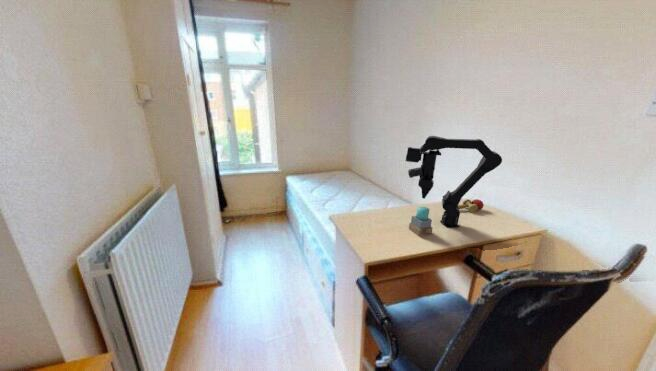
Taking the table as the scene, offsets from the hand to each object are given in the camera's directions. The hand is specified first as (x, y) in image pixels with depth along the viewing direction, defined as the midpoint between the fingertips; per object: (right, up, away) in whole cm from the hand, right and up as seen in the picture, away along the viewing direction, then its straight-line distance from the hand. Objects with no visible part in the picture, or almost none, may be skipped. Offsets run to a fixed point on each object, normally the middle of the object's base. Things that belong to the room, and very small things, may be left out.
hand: (423, 195), depth 123 cm
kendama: (+29, -9, +16) cm, 35 cm away
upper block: (-5, -13, -8) cm, 16 cm away
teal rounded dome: (-4, -10, -9) cm, 14 cm away
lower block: (-5, -17, -7) cm, 19 cm away
